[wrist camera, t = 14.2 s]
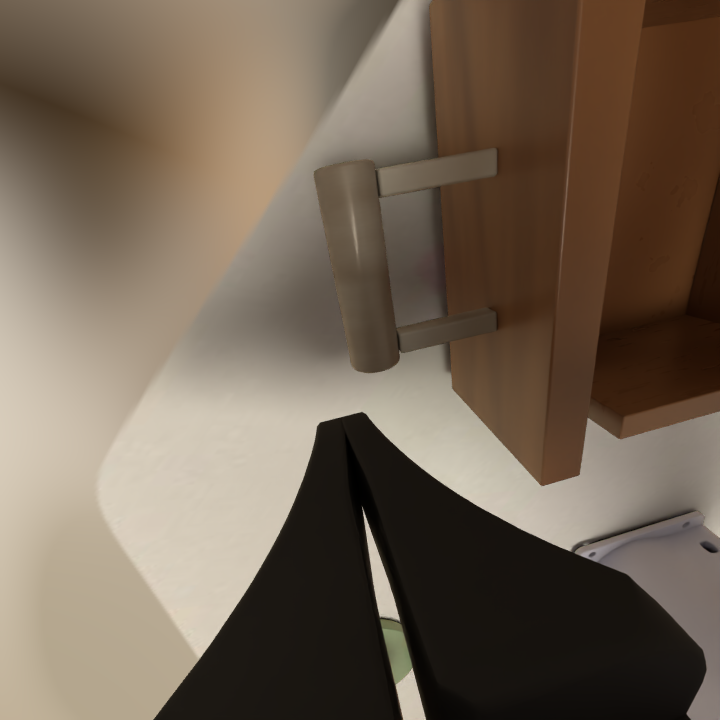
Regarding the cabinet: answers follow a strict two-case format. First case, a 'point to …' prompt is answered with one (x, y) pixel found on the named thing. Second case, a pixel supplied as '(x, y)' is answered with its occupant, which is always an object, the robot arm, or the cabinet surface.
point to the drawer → (557, 220)
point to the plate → (396, 649)
